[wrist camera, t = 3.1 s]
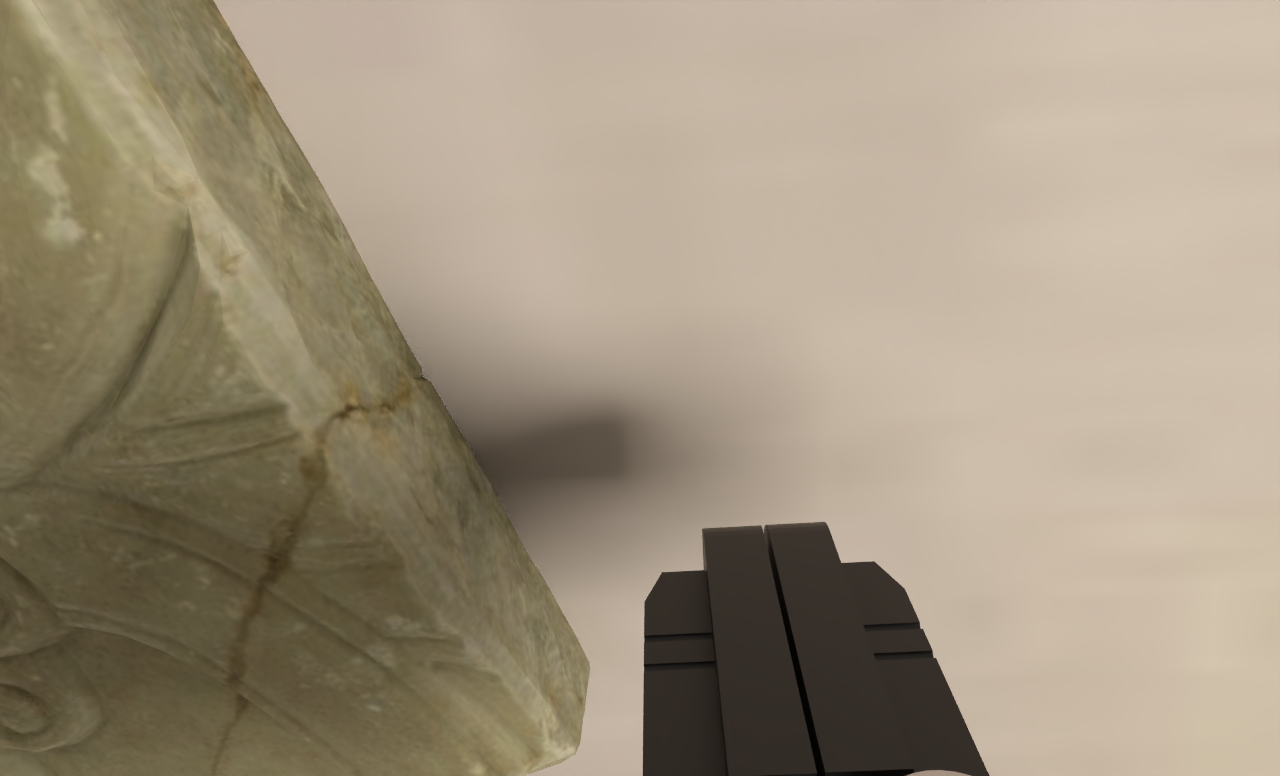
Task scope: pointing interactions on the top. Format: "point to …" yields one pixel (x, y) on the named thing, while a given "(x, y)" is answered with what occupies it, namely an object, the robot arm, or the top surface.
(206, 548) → the decorative tile
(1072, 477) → the top surface
